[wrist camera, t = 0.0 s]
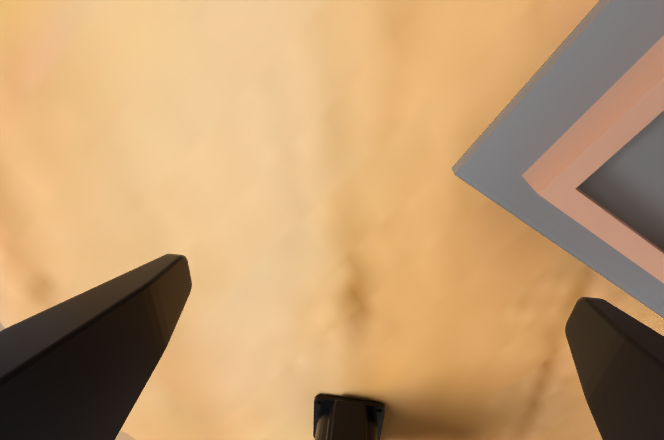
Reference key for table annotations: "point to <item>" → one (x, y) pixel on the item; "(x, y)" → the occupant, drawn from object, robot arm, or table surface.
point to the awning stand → (589, 148)
